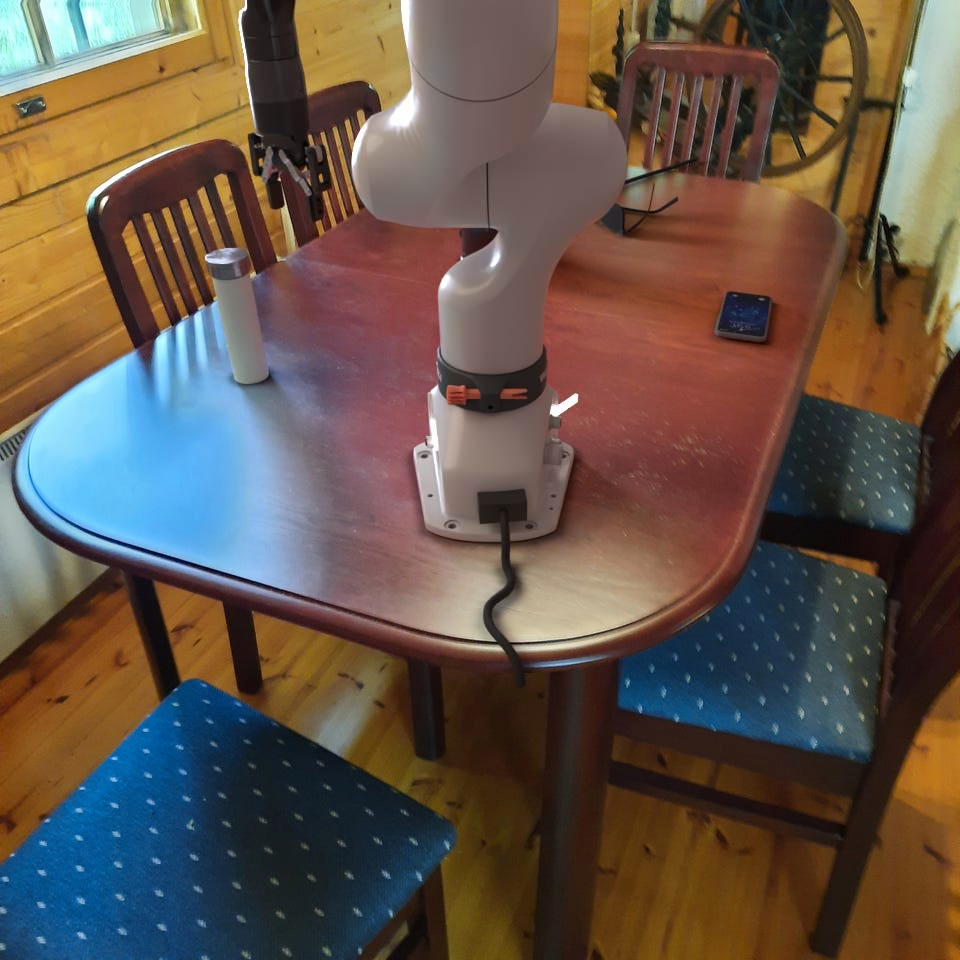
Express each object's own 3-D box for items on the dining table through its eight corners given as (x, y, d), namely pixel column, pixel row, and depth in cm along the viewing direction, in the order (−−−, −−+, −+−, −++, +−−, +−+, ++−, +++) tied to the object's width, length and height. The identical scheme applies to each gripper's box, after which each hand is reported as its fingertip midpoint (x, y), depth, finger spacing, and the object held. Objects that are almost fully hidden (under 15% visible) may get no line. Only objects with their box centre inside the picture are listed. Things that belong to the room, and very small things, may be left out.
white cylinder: (275, 370, 119) (253, 254, 109) (257, 386, 115) (233, 268, 105) (246, 365, 120) (222, 250, 110) (227, 381, 117) (200, 263, 107)
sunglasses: (688, 228, 158) (691, 201, 155) (616, 238, 155) (618, 210, 152) (648, 199, 171) (651, 174, 168) (581, 208, 168) (582, 182, 165)
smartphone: (773, 295, 132) (766, 339, 121) (772, 301, 133) (765, 345, 121) (725, 289, 134) (713, 331, 123) (724, 295, 135) (712, 337, 123)
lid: (259, 265, 110) (256, 250, 109) (236, 281, 106) (233, 266, 105) (224, 260, 111) (220, 245, 110) (199, 276, 107) (196, 261, 106)
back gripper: (335, 94, 111) (350, 217, 121) (266, 80, 119) (285, 197, 129) (291, 106, 107) (309, 232, 117) (222, 91, 114) (244, 211, 124)
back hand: (296, 214), depth 123 cm, fingers open, 8 cm apart
